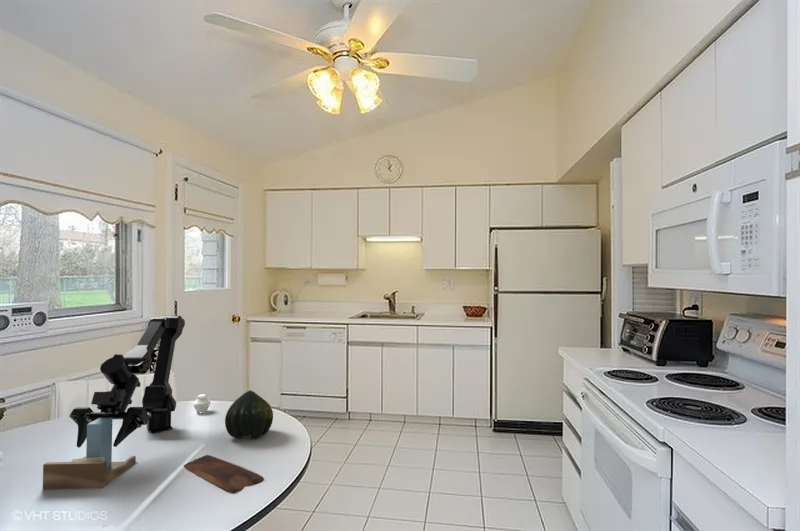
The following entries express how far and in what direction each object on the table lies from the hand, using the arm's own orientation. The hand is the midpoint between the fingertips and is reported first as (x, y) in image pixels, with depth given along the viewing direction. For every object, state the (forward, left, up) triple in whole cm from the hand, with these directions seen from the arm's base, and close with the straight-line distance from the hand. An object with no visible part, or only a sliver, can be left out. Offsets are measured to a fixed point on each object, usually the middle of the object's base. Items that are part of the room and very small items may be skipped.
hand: (96, 446), depth 113 cm
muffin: (-39, -35, -8) cm, 53 cm away
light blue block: (-1, -1, -7) cm, 7 cm away
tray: (+1, +1, -8) cm, 8 cm away
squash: (-42, 0, -8) cm, 43 cm away
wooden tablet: (-25, +20, -8) cm, 33 cm away
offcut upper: (+3, +4, -4) cm, 7 cm away
